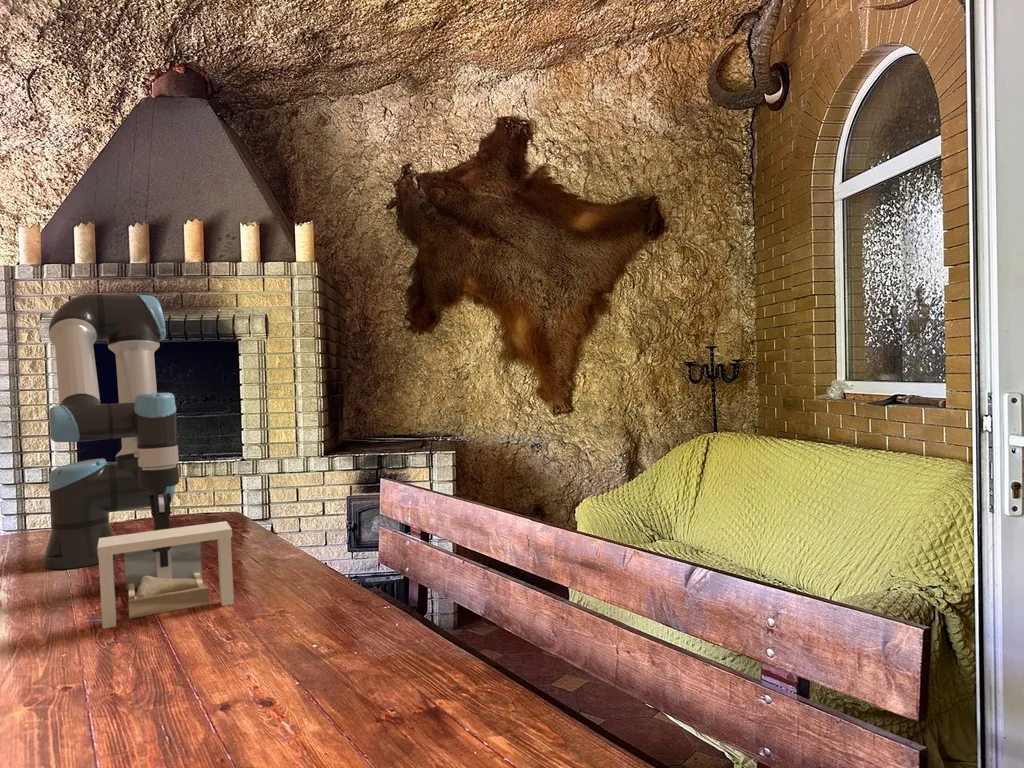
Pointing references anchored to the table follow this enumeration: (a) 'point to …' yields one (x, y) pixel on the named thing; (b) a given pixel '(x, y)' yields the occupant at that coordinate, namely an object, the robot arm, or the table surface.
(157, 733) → the table surface
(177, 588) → the stone
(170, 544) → the shelf
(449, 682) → the table surface
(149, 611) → the rock display tray
